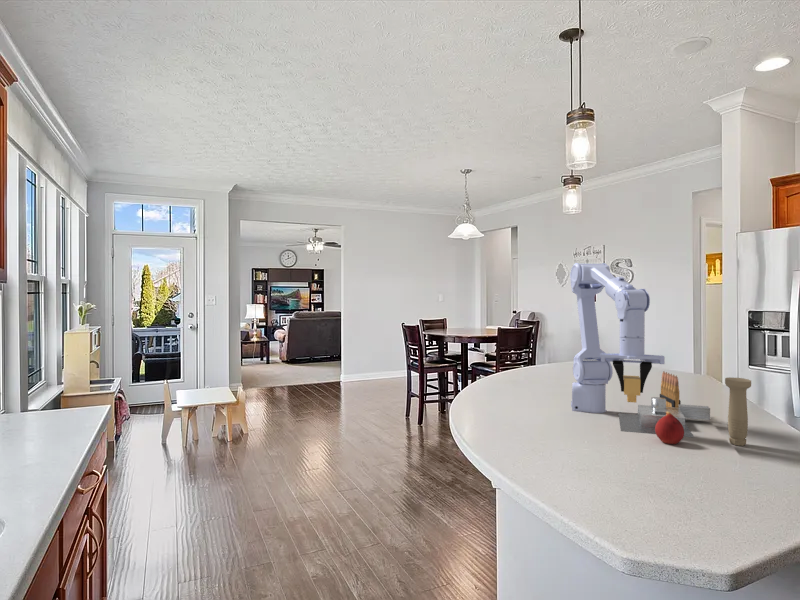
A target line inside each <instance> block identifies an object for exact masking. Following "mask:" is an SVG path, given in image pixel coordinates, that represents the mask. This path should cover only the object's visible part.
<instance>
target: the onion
mask: <svg viewBox="0 0 800 600" xmlns="http://www.w3.org/2000/svg"><path fill="white" fill-rule="evenodd" d="M655 432H656V434H655V435H656V436H657V438H658V439H659V440H660V441H661V442H662V443H663V444H666V445H677V444H679V443H680V442H681V441H682V440H683V438H685V437H684V428H683V426H682V424H681V423H680V421H679V420H678V419H677V418H675V417H674V416H673V415H672V414H671V413H670V412H666V416H664V417H662V418H661V419H660V420H659V421H658V422H657V424H656V426H655Z"/></svg>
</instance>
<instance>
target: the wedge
mask: <svg viewBox="0 0 800 600" xmlns="http://www.w3.org/2000/svg"><path fill="white" fill-rule="evenodd" d="M623 394H624V395H625V396H626V400H627V403H634V404H635V403H637V397H638V396H640V397H641V393H640V375H624V392H623Z"/></svg>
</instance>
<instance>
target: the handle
mask: <svg viewBox="0 0 800 600" xmlns="http://www.w3.org/2000/svg"><path fill="white" fill-rule="evenodd" d="M724 383H725V386H726V387H727V388H728V389H729V398H728V399H729V400H728V411H727V428H728V430H727V431H728V440H729V444H731V445H734V446H739V447H743V446H745V445H746V444H747V437H748V429H749V428H748V427H749V426H748V425H749V418H748V417H749V416H748V401H747V399H748V397H747V390H748V389H749V388H751V387H752V380H750V379H749V378H744V377H724Z"/></svg>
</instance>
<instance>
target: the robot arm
mask: <svg viewBox="0 0 800 600" xmlns="http://www.w3.org/2000/svg"><path fill="white" fill-rule="evenodd" d="M610 268H611V267H610V265H608V264H607V263H605V262H602V263H582V262H581V263H579V262H575V263H574V264H573V265H572V266H571V269H570V272H569V278H570V279H569V280H570V287H571V293H574V294H575V295H576V303H577V313H578V322H579V323H578V324H579V331H580V340H581V350H580V351H579V352H577V353H576V354H575V356H574V357H573V367H572V375H573V377H574V379H575V380H576V381H575V382H572V383H571V384H572V385H571V386H572V387H571V403H570V408H571V411H572V412H581V413H582V412H584V413H589V414H590V413H592V414H593V413H594V414H601V413H603V414H604V413H605V412H608V409H606V403H607V400H606V398H607V397H606V396H607V395H606V391H607V389H606V388H607V386H606V385H608V384H609V381H610V380H611V379H612V377H613V373H614V372H613V371H614V370H615V373H616V374H617V375H616V376H617V378H618V380H619V384H620V392H623V393H624V373H625V372H624V369H625V368H624V367H625V366H624V363H636V364H639V377H640V394H641V393H644V387H645V383H646V381H647V378H648V375H649V374H650V372H651V370H652V368H653V364H659V365H665V364H666V363H665V358H666V357H665V355H656V354H645V340H646V339H645V336H646V335H645V316H646V315H645V314H646V313H645V312H646V311H648V310H649V307H650V303H651V298H650V294H649V291H647V290H646V288H639V289H637V288H636V287H634V286H633V284H631V283H629V282H628V281H627V280H625V277H624V276H614V275H613V274H612V272H611V269H610ZM603 289H604V291H605V293H606V295H607V296H608V297H610V299H611V300H612V301H614V304H615V309H616V313H617V314H616V315H617V319H619V353H606V352H605V351H603V350H602V348H601V346H600V337H599V329H598V319H597V309H596V304H595V303H596V301H595V297H596V295H597V294H600V293H602V291H603ZM613 368H614V370H613Z"/></svg>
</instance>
